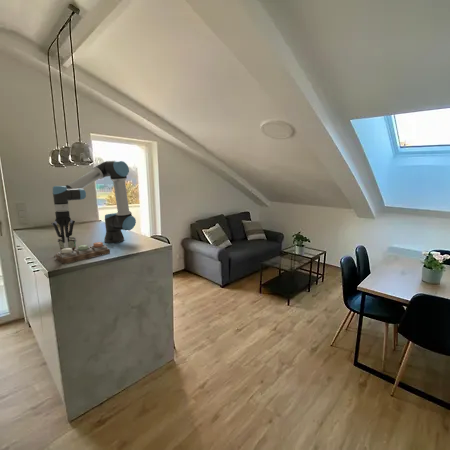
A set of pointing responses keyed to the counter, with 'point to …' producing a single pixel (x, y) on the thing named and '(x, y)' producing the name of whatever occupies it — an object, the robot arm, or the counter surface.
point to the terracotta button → (98, 244)
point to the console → (82, 254)
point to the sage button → (83, 247)
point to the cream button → (66, 250)
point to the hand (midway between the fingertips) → (66, 247)
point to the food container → (70, 244)
